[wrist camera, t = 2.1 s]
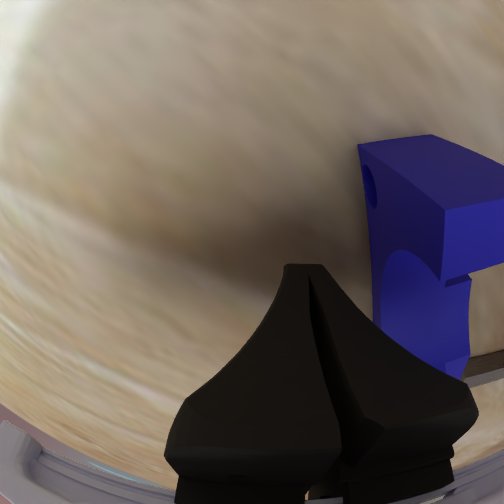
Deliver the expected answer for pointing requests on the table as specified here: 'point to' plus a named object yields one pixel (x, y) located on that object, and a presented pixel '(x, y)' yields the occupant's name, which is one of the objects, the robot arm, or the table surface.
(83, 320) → the table surface
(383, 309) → the cable clip
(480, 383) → the rail
